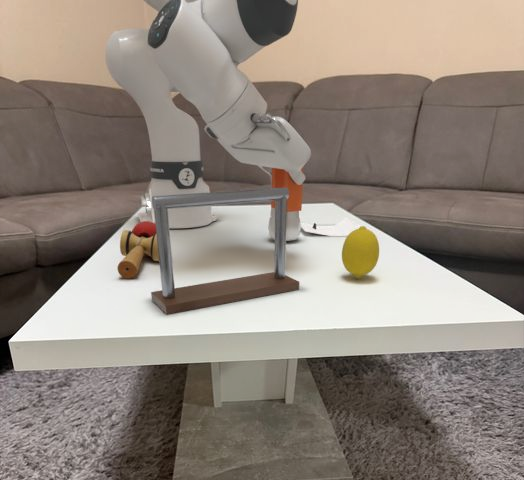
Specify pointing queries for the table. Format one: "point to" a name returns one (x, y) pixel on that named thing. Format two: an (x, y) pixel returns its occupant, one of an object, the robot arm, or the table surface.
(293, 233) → the silver metal bottle
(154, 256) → the kendama
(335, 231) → the folded paper
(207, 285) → the rail
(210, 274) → the table surface
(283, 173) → the orange u-shaped hook
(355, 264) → the lemon
